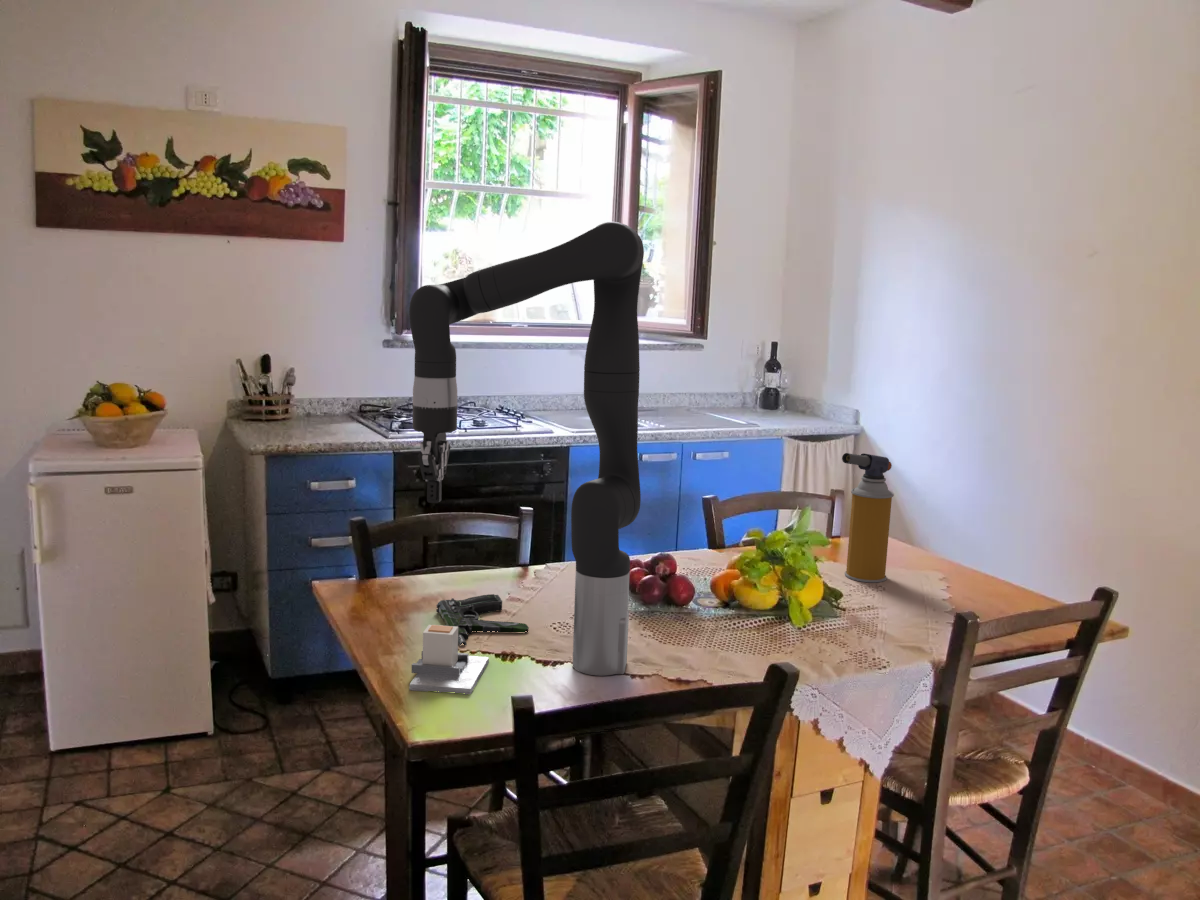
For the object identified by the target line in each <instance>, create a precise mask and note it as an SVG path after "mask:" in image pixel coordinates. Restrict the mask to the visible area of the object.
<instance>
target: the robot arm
mask: <svg viewBox="0 0 1200 900" xmlns="http://www.w3.org/2000/svg"><path fill="white" fill-rule="evenodd" d="M643 243H644V242H643V240H642V238H641V237H640V235H639V233H638V232H637V231H636V230H635V229H634V228H632V227H631V226H629V225H627V224H624V223H622V222H618V221H606V222H605V221H604V222H602V223H599V224H598V225H596V226H595V227H593V228H592V229H590V230H588V231H585V232H584V233H582V234H580V235H578V236H576V237H574V238H572V239H570V240H568V241H566V242H564V243H561V244H559V245H556V246H554V247H551V248H549V249H546V250H543V251H540V252H537V253H534V254H530V255H527V256H523V257H522V256H521V257H519V258H516V259H511V260H508V261H505V262H501V263H498V264H494V265H491V266H489V267H485V268H482V269H478V270H476V271H473V272H471V273H469V274H468V275H466V277H463V278H458V279H456V280H451V281H448V282H444V283H440V284H426V285H422V286H420V287H419V288H417V289H416V290H415V291H414V293H413V294H412V296H411V298H410V302H409V308H408V309H409V311H408V315H409V325H410V330H411V337H412V338H411V339H412V342H413V346H414V378H413V387H412V429H413V430H414V431H416V432H419V433H420V432H421V433H423V437H422V438H423V439H422V441H421V442H420V452H421V453H418V455H417V461H418V464H419V465H418V466H419V468H420V469H419V470H420V473H421V477H422V480H425V482H426V501H427V503H429V504H430V503H431V504H438V503H440V502H441V501H442V489H443V488H442V481H443V480H444V477H445V476H444V475H446V474H447V469H448V468H447V467H448V463H449V457H450V453H451V443H450V442H449V440H447V434H448V433H452V432H455V431H456V430H457V429H458V383H457V351H456V347H455V345H453V344H452V342H451V332H450V330H451V328H450V325H452V324H455V323H459V322H461V321H464V320H466V319H469V318H471V317H474V316H476V315H478V314H484V313H488V312H492V311H496V310H500V309H503V308H506V307H509V306H512V305H516V304H518V303H522V302H524V301H527V300H530V299H532V298H534V297H536V296H539V295H541V294H543V293H545V292H548V291H551V290H554V289H556V288H560V287H563V286H566V285H570V284H575V283H580V282H586V281H587V282H588V281H593V299H594V301H593V302H594V306H593V315H592V320H591V325H590V326H591V327H590V330H589V333H588V339H587V344H586V350H585V356H584V363H583V364H584V366H583V368H584V371H583V374H584V375H583V398H584V399H583V400H584V404H585V405H584V406H585V409H586V412H587V414H588V417H589V419H590V422H591V424H592V427H593V429H594V431H595V434H596V437H597V441H598V448H599V462H598V463H599V467H598V475H597V478H596V479H591V480H588V481H586V482H584V483H582V484H580V486H579V487H578V488H576V491H575V493H574V495H573V498H572V501H571V502H572V503H571V509H570V510H571V511H570V512H571V514H570V523H571V524H570V526H571V527H570V528H571V530H570V531H571V533H570V534H571V551H572V554H573V558H574V561H575V578H574V579H575V583H574V585H575V586H574V606H573V607H574V608H573V609H574V611H573V634H572V635H573V636H572V637H573V640H572V641H573V642H572V644H573V645H572V667H573V668H574V669H575V670H576V671H577V672H579V673H582V674H585V675H589V676H591V675H592V676H600V677H601V676H612V675H619V674H620V675H623V674H624V675H625V671H626V668H627V662H628V645H629V644H628V641H629V618H630V611H629V594H630V593H629V592H630V570H631V569H630V568H631V558H630V556H629V554H628V553H627V552H625V551H623V550H620V545H619V543H620V541H619V540H620V539H619V536H620V534H619V530H620V529H624V528H625V527H628V526H630V525H631V524H632V523H633V522H635V520H636V519H637V517H638V515H639V513H640V508H641V502H642V501H641V495H642V494H641V483H640V480H641V479H640V472H639V471H640V470H639V469H640V468H639V457H638V438H639V437H638V435H639V432H638V429H639V415H638V414H639V397H640V396H639V395H640V372H641V371H640V337H639V321H638V320H639V319H638V305H639V303H638V302H639V293H640V282H641V277H642V276H641V275H642V270H643V263H644V257H645V256H644V255H645V252H644V250H645V248H644V244H643Z"/></svg>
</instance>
